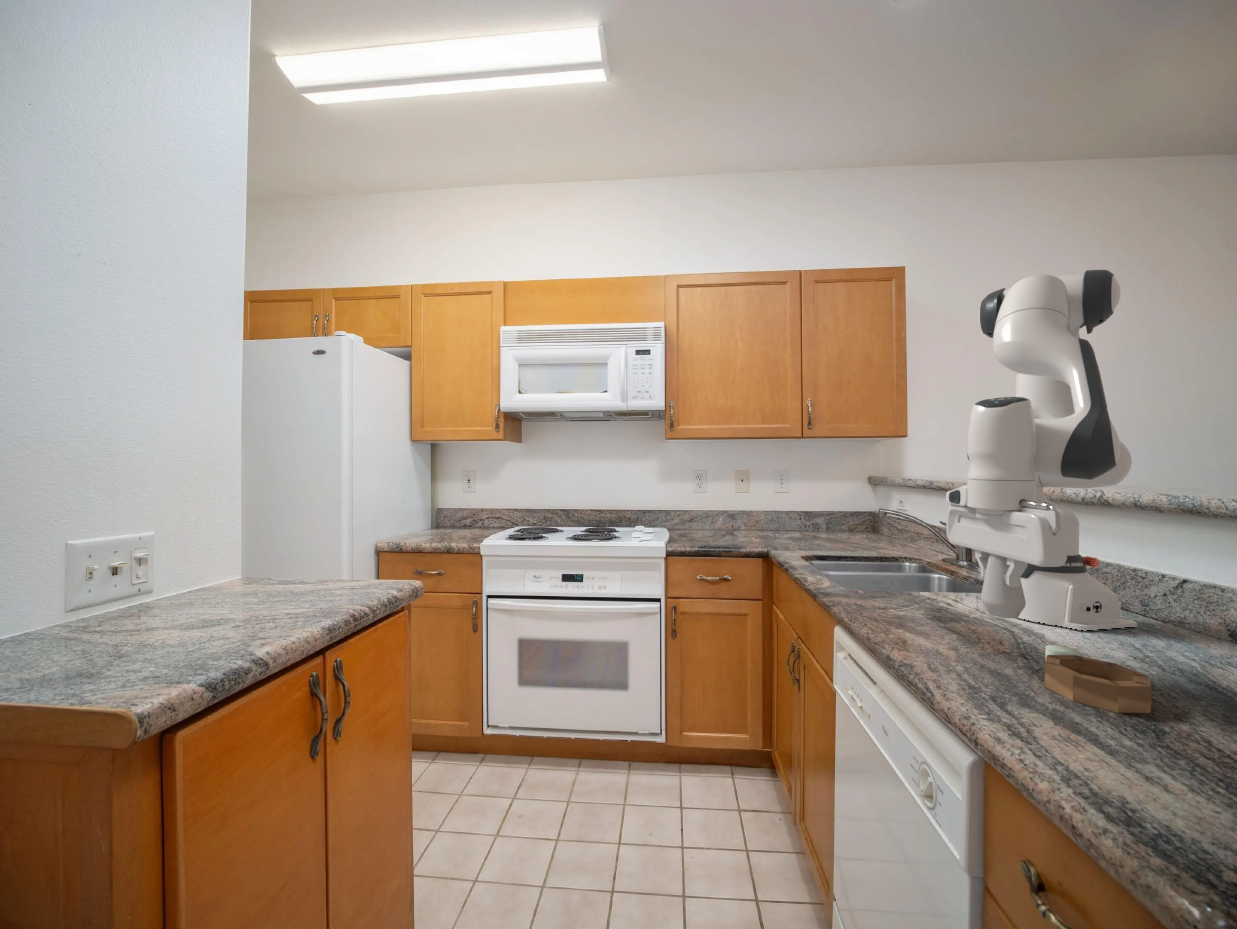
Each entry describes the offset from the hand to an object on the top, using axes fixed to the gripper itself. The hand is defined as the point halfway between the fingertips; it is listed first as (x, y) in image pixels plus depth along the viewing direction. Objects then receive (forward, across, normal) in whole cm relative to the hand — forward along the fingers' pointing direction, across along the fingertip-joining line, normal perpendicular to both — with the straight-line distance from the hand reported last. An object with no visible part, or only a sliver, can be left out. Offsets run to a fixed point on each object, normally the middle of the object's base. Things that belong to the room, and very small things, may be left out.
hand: (999, 582), depth 80 cm
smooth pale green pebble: (+14, -2, -9) cm, 16 cm away
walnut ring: (+13, -11, -5) cm, 18 cm away
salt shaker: (+5, 0, 0) cm, 5 cm away
